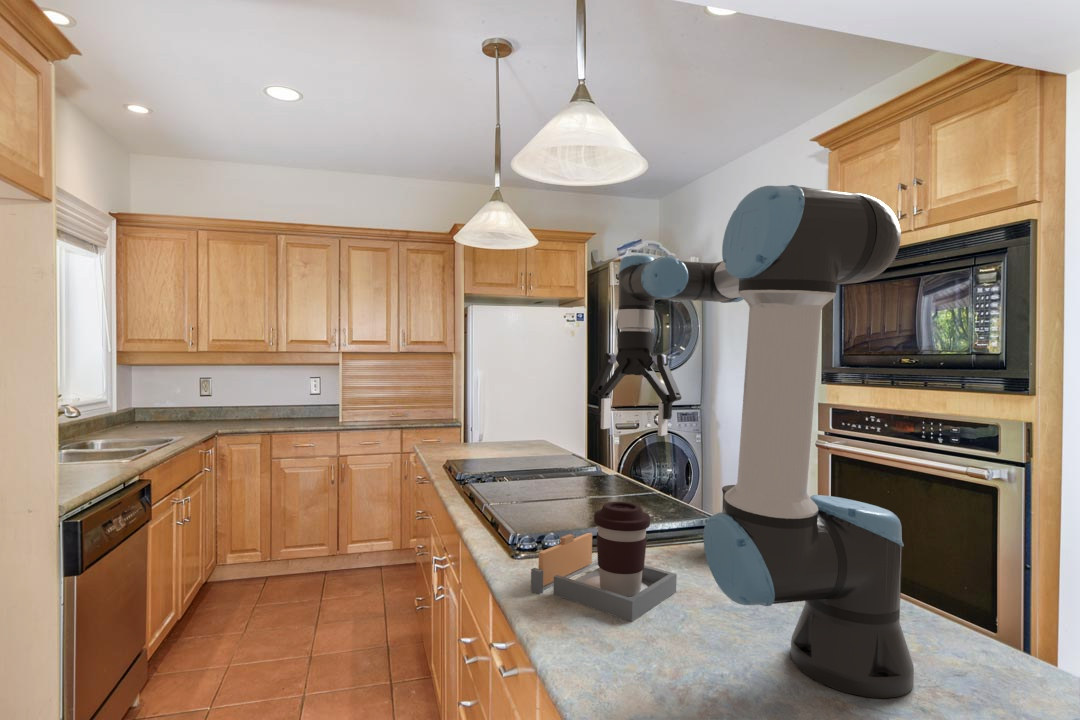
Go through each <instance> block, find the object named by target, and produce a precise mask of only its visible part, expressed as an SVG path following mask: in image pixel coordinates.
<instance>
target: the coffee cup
mask: <svg viewBox="0 0 1080 720" xmlns="http://www.w3.org/2000/svg"><path fill="white" fill-rule="evenodd" d="M593 522H594V524H595V525H596V526H597V532H596V546H597V549H596V550H597V559H598V564H597V565H598V568H599V574H600V587H601V589H604V590H607V591H610V592H613V593H616V594H620V595H623V596H633V595H636V594H637V593H639V592H640V590H641V581H642V570H643V569H644V565H645V562H646V561H645V560H646V550H647V549H646V547H647V539H648V538H647V537H648V536H647V529H648V528H649V527H650V526H651V516H650V515H649V513H646V512H645V511H643V508H642V507H641V505H639V504H636V503H633V502H627V501H611V502H606V503H603V506H602V508H601V509H599V510H597V511H595V512H594V516H593Z"/></svg>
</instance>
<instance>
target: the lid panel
mask: <svg viewBox="0 0 1080 720" xmlns="http://www.w3.org/2000/svg"><path fill="white" fill-rule="evenodd" d="M592 562H593V533H591V532H587V533H584V534H581V535H579V536H576V537H574V534H571V533H569V534H566V535H564V536H561V537H560V543H559V544H556V545H554V546H551V547H548V548H547V549H544V550H541V551H539V552H538V569H541V570H543V586H545V585H547V584H549V583H551V582H553V581H554V576H555V575H560V576H563V577H564V576H566V575H568V574H570V573H572V572H574V571H576V570H578V569H581V568H583V567H585V566H587V565H589V564H591V563H592Z"/></svg>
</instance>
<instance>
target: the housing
mask: <svg viewBox="0 0 1080 720" xmlns="http://www.w3.org/2000/svg"><path fill="white" fill-rule="evenodd" d="M597 565H598V558H597V559H595V560H592V563H591V564H589V565H587V566H585V567H583V568H581V569H578V570H576V571H574V572H572V573H570V574H568V575H566V576H564V577H563V576H560V575H555V576H554V581H553V582H551V583H549V584H547V585H545V586H543V570H541V569H539V568H537V567H533V568H531V569H530V572H531V573H530V592H532V593H535V594H537V595H540V594H543V593H544V592H543V591H545V590H546V589H549V588H551V587H553V591H552V592H553V594H552V596H553V595H554V596H555V597H558V598H562V599H565V600H568V601H570V602H573V603H575V604H580V605H583V606H586V607H588V608H589V609H594V610H597V611H599V612H602V613H605V614H608V615H611V616H614V617H617V618H620V619H623V620H626V621H628V622H631V623H633V622H634V621H636V620H637V619H639V618H641V616H643V615H645V614H646V613H648V612H649V611H650V610H652V609H653V608H655V607H656V606H658V605H659V604H661V603H662V602H663V601H666V599H668V598H669V597H671V596H672V595H674V594H675V593H676V592H677V578H678V577H677V573H674V572H671V571H668V570H664V569H659V568H657V567H652V566H649V565H645V564H644V569H643V570H642V581H641V590H640V592H639V593H637V594H636V595H633V596H623V595H620V594H616V593H613V592H610V591H607V590H604V589H601V587H600V574H599V567H597V568H595V569H594V570H592V571H589V572H588V573H585V574H584V575H582V576H579V577H578V578H576V579H572V578H571V577H573V576H575V575H578V574H580V573H582V572H584V571H586V570H588V569H590V568H593V567H594V566H597Z"/></svg>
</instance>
